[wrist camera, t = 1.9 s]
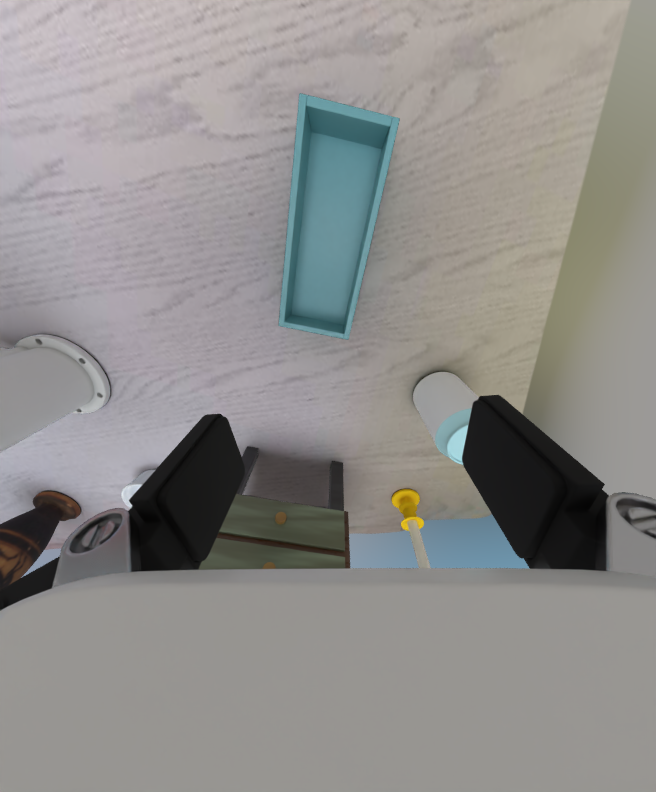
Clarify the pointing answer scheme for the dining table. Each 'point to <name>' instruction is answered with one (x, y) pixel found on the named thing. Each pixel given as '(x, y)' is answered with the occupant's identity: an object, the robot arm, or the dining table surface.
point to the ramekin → (134, 487)
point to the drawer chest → (282, 530)
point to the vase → (31, 534)
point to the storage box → (332, 212)
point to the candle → (412, 522)
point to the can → (445, 411)
